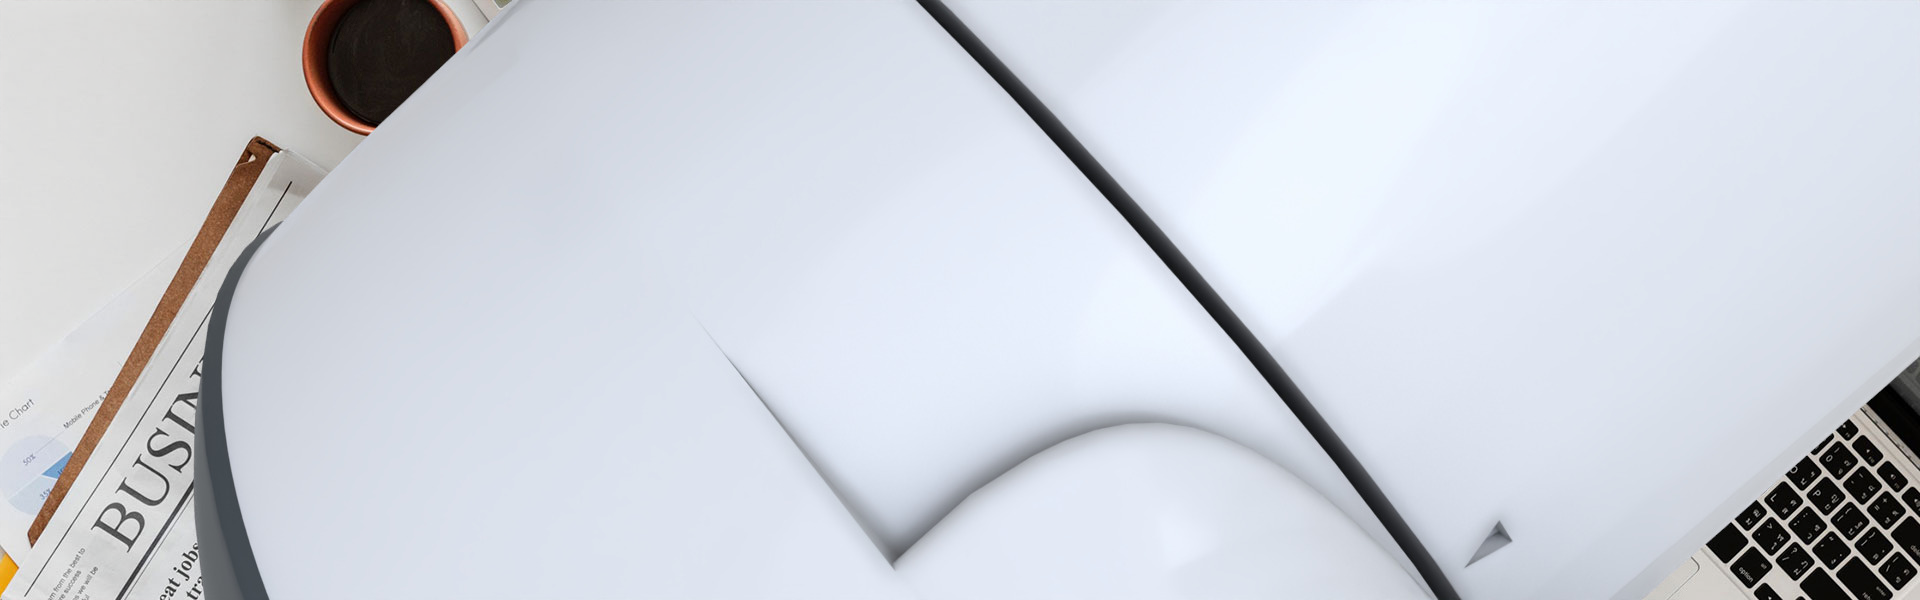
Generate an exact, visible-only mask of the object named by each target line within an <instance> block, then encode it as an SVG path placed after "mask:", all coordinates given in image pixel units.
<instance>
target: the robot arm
mask: <svg viewBox="0 0 1920 600" xmlns="http://www.w3.org/2000/svg"><path fill="white" fill-rule="evenodd" d="M1918 358H1920V0H511V1H510V2H509V3H507V5H506V6H504V7H503V9H501V10H500V11H499V12H498V13H497V14H496V15H495V16H494V17H493V18H492V19H491V20H489V22H487V24H485V25H484V26H483V27H482V28H481V29H480V30H479V31H478V32H477V33H476V34H475V35H474V36H472V37H471V39H469V40H468V41H467V42H466V43H465V44H464V45H463V46H462V47H461V48H460V49H458V51H457V52H455V54H453V55H452V56H451V57H450V58H449V59H448V60H447V61H446V62H445V63H444V64H442V66H441V67H440V68H439V69H438V70H436V71H435V72H434V73H433V74H432V75H431V76H430V77H429V78H427V80H426V81H425V82H424V83H422V85H420V86H419V87H418V88H417V89H416V90H415V91H414V92H413V93H412V94H411V95H410V96H409V97H408V98H406V100H404V101H403V102H402V103H401V104H400V105H399V106H398V107H397V108H396V109H395V110H393V112H391V114H390V115H388V116H387V117H386V118H385V119H384V120H383V121H381V123H379V125H378V126H377V127H376V128H374V129H373V130H372V131H371V132H370V133H369V134H368V135H367V136H366V137H365V138H364V139H363V140H362V141H361V142H360V143H359V144H358V145H356V147H355V148H354V149H353V150H352V151H350V152H349V153H348V154H347V156H346V157H344V158H343V159H342V161H340V162H339V163H338V164H337V165H336V166H335V167H333V169H332V170H331V171H330V172H328V174H326V176H325V177H324V178H323V179H322V180H321V181H320V182H319V183H318V184H317V185H316V186H315V187H314V188H312V190H311V191H310V192H309V193H308V194H307V195H306V196H305V198H304V199H303V200H302V201H300V203H299V204H298V205H297V206H296V207H295V208H294V209H292V211H291V212H290V213H289V215H287V217H285V218H284V220H281V221H279V222H277V223H276V224H273V225H272V226H270V227H269V228H268V229H266V230H264V231H262V232H260V234H259V235H257V236H256V237H255V238H254V239H253V240H252V241H251V242H250V243H249V244H248V245H246V247H245V248H243V250H242V251H241V253H240V254H239V256H238V257H237V258H236V260H235V261H234V262H233V264H232V265H231V266H230V268H229V270H228V271H227V273H226V275H225V278H224V279H223V282H222V283H221V286H220V287H219V290H218V291H217V293H216V298H215V301H214V304H213V308H212V311H211V314H210V317H209V321H208V324H207V331H206V337H205V343H204V351H203V356H202V364H201V370H200V376H199V377H200V378H199V384H198V392H197V397H196V398H197V399H196V406H195V412H194V433H193V434H194V437H193V489H192V490H193V512H194V513H193V514H194V515H193V517H194V526H195V533H196V535H195V536H196V542H197V543H196V545H197V552H198V553H197V554H198V561H199V568H200V576H201V583H202V591H203V598H204V599H203V600H1644V599H1645V598H1646V597H1647V596H1648V595H1650V594H1651V593H1652V592H1653V591H1654V590H1655V589H1656V588H1658V586H1660V585H1661V584H1662V583H1663V582H1664V581H1666V580H1667V579H1668V578H1669V577H1670V576H1671V575H1672V574H1673V573H1674V572H1675V571H1677V570H1678V569H1680V567H1681V566H1682V565H1684V564H1685V563H1686V562H1687V561H1688V560H1689V559H1691V558H1692V556H1694V555H1695V554H1696V553H1697V552H1698V551H1699V550H1700V549H1702V548H1703V547H1704V546H1706V544H1708V543H1709V542H1710V541H1711V540H1712V539H1713V538H1715V537H1716V535H1718V534H1719V533H1720V532H1721V531H1722V530H1723V529H1725V528H1726V527H1727V526H1728V525H1729V524H1730V523H1731V522H1733V521H1734V520H1735V519H1736V518H1737V517H1739V516H1740V514H1742V513H1743V512H1744V511H1745V510H1746V509H1747V508H1748V507H1750V506H1751V505H1752V504H1753V503H1754V502H1756V500H1758V499H1759V498H1760V497H1761V496H1762V495H1763V494H1764V493H1766V492H1767V491H1768V490H1769V489H1770V488H1771V487H1773V485H1775V484H1776V483H1777V482H1778V481H1779V480H1780V479H1782V478H1783V477H1784V476H1785V475H1787V473H1788V472H1790V471H1791V470H1792V469H1793V468H1794V467H1795V466H1796V465H1797V464H1798V463H1800V462H1801V461H1802V460H1803V459H1805V458H1806V456H1808V455H1809V454H1810V453H1811V452H1812V451H1814V449H1816V448H1817V447H1818V446H1819V445H1820V444H1821V443H1823V442H1824V441H1825V440H1826V439H1827V438H1828V437H1829V436H1831V435H1832V434H1833V433H1834V432H1836V430H1837V429H1839V428H1840V427H1841V426H1842V425H1843V424H1844V423H1845V422H1847V421H1848V420H1849V419H1850V418H1851V417H1852V416H1853V415H1854V414H1856V412H1858V411H1859V410H1861V408H1863V407H1864V406H1865V405H1866V404H1867V403H1868V402H1869V401H1870V400H1871V399H1873V398H1874V397H1875V396H1876V395H1877V394H1878V393H1879V392H1881V391H1882V390H1883V389H1884V388H1885V387H1887V386H1888V385H1889V384H1890V383H1891V382H1892V381H1893V380H1894V379H1895V378H1897V377H1898V376H1899V375H1900V374H1901V373H1902V372H1904V371H1905V370H1906V369H1907V368H1908V367H1910V366H1911V365H1912V364H1913V363H1914V362H1915V361H1916V360H1917V359H1918Z"/></svg>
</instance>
